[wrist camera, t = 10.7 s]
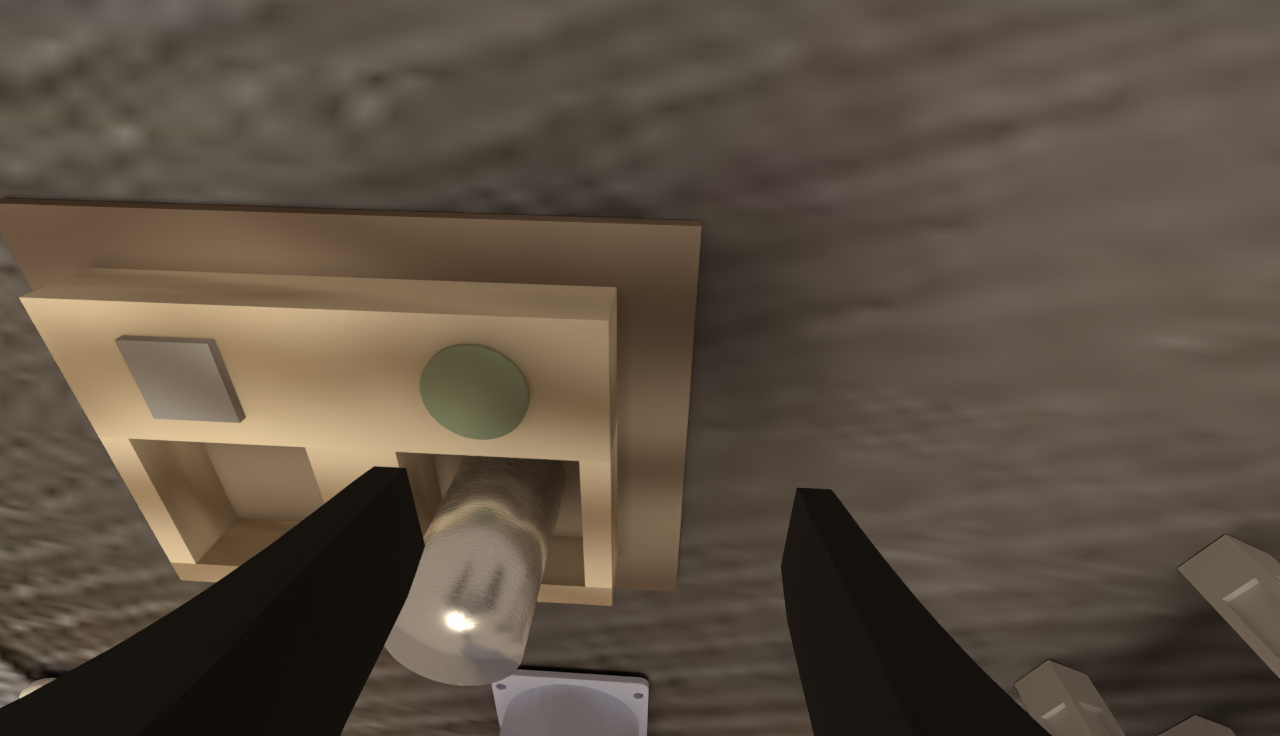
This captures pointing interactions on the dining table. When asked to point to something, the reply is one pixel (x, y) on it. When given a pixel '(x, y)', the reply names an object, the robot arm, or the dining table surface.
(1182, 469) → the dining table surface
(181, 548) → the socket block
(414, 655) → the peg
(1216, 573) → the stool
